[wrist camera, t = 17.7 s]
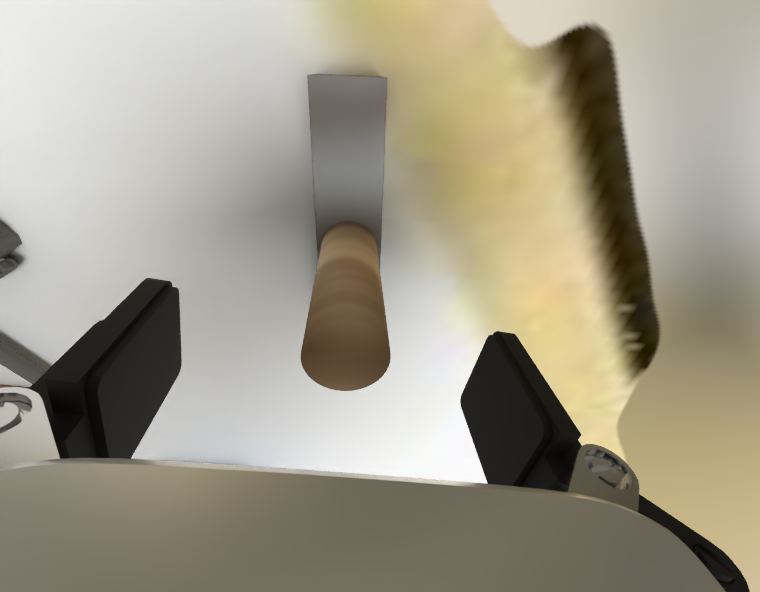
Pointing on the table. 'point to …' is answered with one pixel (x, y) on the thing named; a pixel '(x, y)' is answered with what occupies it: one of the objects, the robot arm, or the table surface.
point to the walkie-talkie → (3, 242)
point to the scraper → (347, 232)
